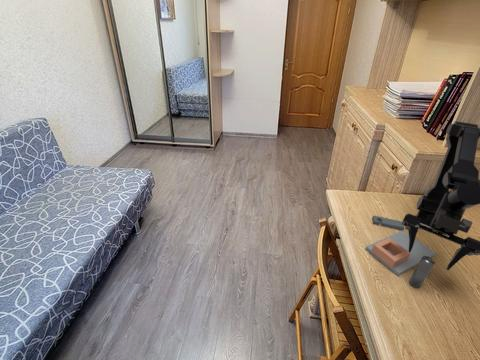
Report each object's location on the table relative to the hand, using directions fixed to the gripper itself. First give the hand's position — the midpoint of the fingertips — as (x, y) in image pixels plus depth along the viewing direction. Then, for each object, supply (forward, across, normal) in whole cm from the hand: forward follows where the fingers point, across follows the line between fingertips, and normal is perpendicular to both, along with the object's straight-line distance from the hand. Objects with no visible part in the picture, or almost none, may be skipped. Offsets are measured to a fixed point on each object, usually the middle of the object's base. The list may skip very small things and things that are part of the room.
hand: (427, 260), depth 72 cm
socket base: (0, -6, +13) cm, 14 cm away
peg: (+7, 0, +6) cm, 9 cm away
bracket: (-9, -14, +22) cm, 28 cm away
